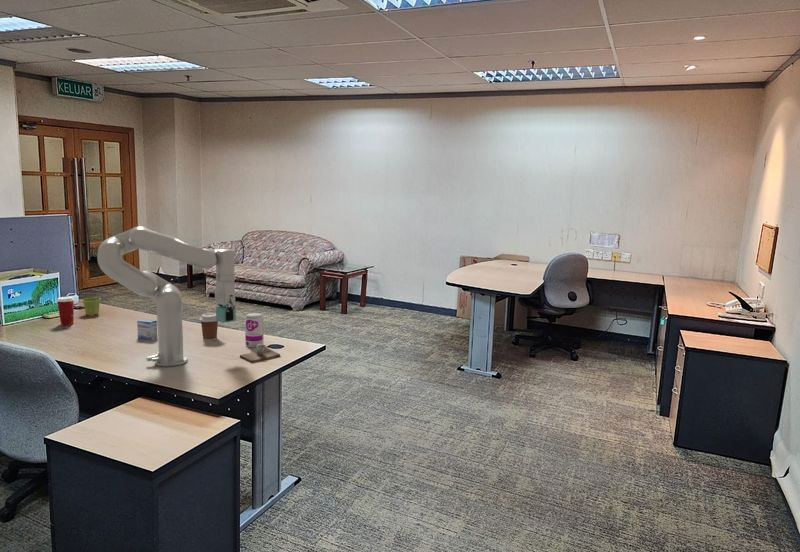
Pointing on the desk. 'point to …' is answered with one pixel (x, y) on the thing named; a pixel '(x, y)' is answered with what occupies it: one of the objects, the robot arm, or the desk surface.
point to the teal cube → (224, 314)
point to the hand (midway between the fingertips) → (225, 318)
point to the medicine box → (147, 329)
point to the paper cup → (66, 310)
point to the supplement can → (253, 329)
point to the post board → (258, 358)
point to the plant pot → (91, 305)
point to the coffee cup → (209, 326)
